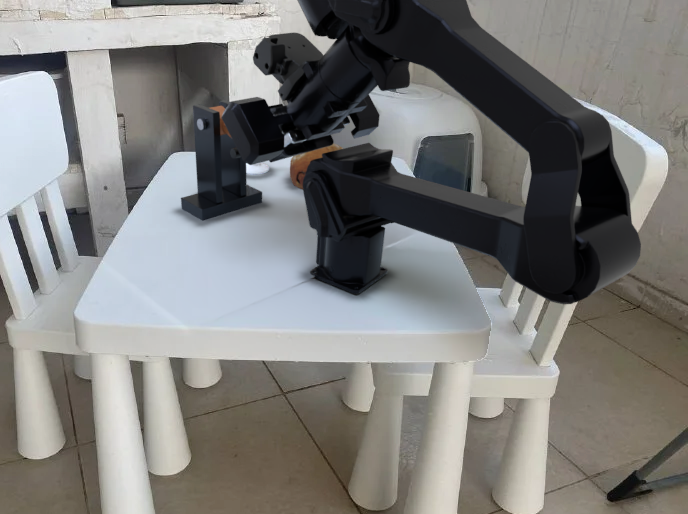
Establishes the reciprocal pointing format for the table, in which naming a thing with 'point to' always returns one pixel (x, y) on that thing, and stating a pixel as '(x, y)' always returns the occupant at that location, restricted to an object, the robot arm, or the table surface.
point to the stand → (217, 170)
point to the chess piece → (257, 168)
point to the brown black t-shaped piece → (226, 131)
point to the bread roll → (306, 163)
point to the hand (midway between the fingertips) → (270, 158)
